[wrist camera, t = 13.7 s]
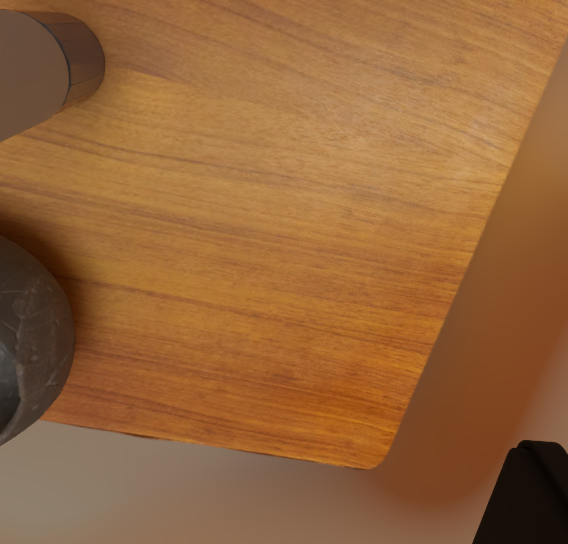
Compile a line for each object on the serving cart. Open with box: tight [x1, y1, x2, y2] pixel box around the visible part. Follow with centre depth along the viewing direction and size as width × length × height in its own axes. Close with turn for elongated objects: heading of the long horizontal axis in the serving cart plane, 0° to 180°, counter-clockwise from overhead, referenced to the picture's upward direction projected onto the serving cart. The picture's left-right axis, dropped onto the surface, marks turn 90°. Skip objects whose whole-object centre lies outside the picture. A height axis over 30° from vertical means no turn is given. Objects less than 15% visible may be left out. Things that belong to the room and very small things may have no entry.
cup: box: [12, 10, 105, 115], centre depth 36 cm, size 6×6×8 cm
